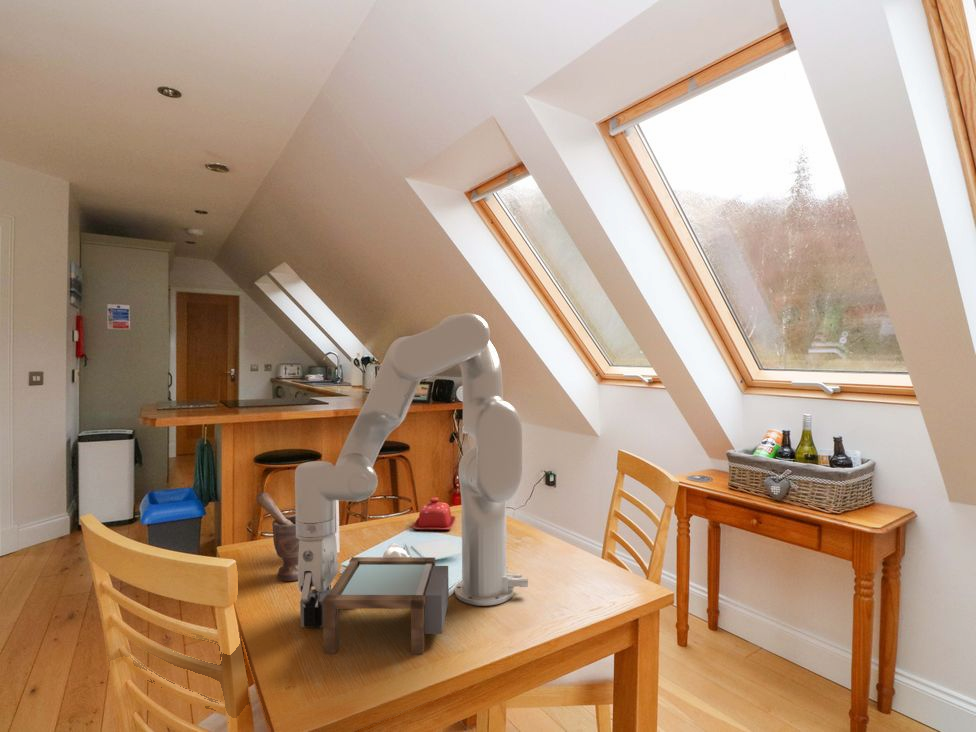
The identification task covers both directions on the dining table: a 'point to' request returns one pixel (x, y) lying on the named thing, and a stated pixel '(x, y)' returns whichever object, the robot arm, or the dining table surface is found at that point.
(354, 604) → the frame
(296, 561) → the mortar and pestle
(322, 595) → the gray cube
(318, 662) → the dining table surface
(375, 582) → the trapdoor
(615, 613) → the dining table surface
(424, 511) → the butter dish
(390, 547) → the elephant figurine
